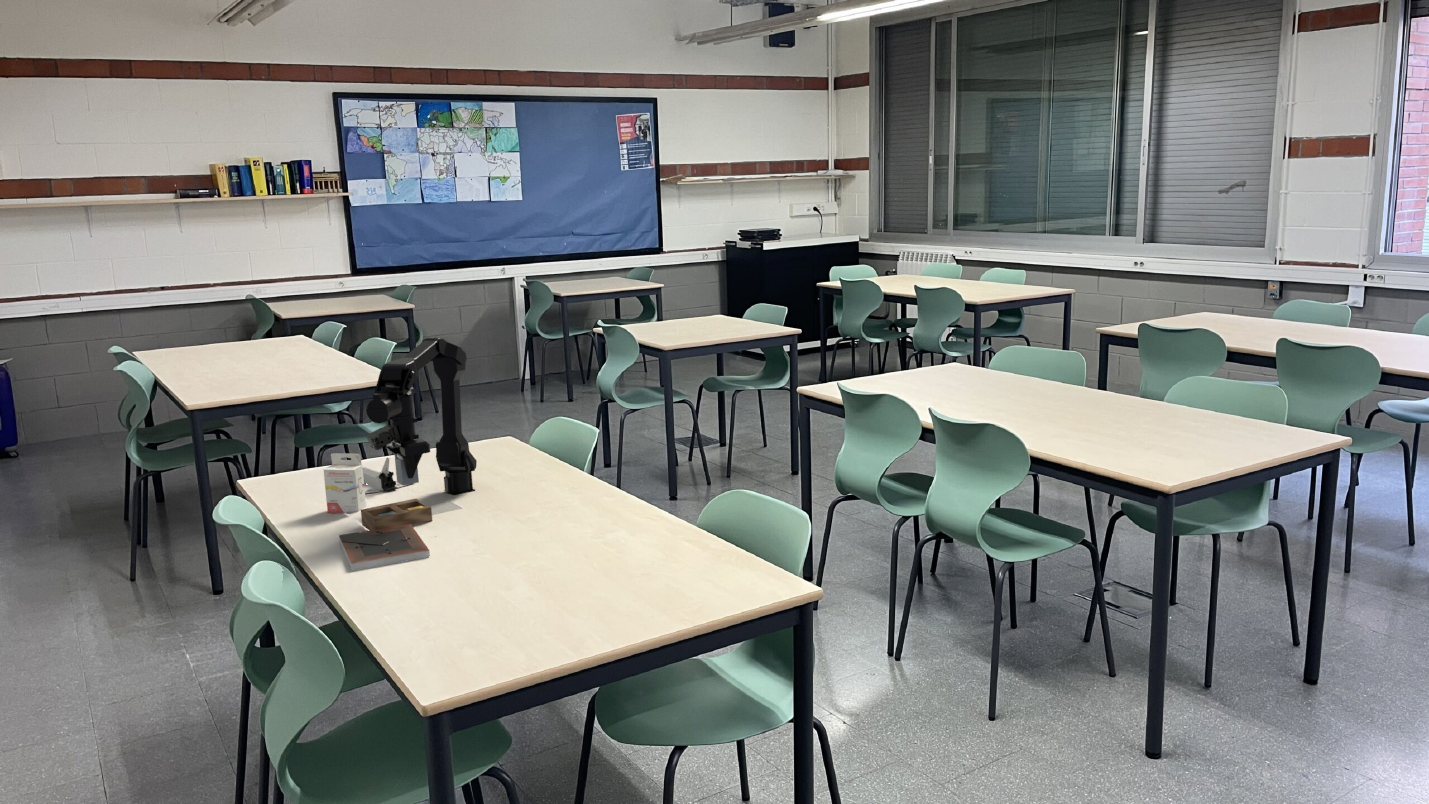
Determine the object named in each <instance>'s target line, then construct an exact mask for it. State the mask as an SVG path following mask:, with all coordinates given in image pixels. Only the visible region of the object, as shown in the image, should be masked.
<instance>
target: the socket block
mask: <svg viewBox="0 0 1429 804" xmlns="http://www.w3.org/2000/svg"><path fill="white" fill-rule="evenodd" d="M360 517H361V525H362V527H364V528H365V529H367V531H370V530H377V529H383V528H389V527H395V526H401V525H407V524H411V525H412V526H417V525H421V524H426V523H431V522H433V515H432V510H431V507H430V505H428V504H426V503H425V502H423V501H421V500H420V499H418V498H411V499H408V500H407V499H406V500H402V501H401V500H400V501H398V502H397V501H396V502H392V503H387V504H382V505H377V506H373V507H372V506H371V507H367V508H363V509H362V510H360Z"/></svg>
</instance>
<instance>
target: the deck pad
mask: <svg viewBox="0 0 1429 804" xmlns="http://www.w3.org/2000/svg"><path fill="white" fill-rule="evenodd" d="M429 506H430V507H431V510H432V516H433V515H439V514H443V513H447V512H451V511H457V510H461V509H463V507H462V506H460V505H458V504H456V503H454V502H452V501H445V502H440V503H436V504H431V505H429Z"/></svg>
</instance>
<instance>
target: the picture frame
mask: <svg viewBox="0 0 1429 804" xmlns="http://www.w3.org/2000/svg"><path fill="white" fill-rule="evenodd" d="M413 526H414V525H413ZM413 526H412V525H411V524H407V525H401V526H395V527H389V528H383V529H377V530H370V531H369V530H366V531H361V532H360V531H355V532H350V533H343V534H339V535H338V539H339V544H340V546H341V549H342V550H343V553H344V556H345V558H346V560H347V562H348V564H349V567H350V568H351V571H354V572H355V571H359V570H364V569H370V568H377V567H382V566H387V564H388V565H392V563H393V564H399V563H402V562H401V561H404V562H407V561H406V560H410V561H413V560H412V559H416V560H419V559H418V558H421V559H427V558H430V557H431V554H430V549H429V548H428V546H427V545H426V543H425V542H424V540H423V539H422V538H421V537H420V535H419V534H418V532H417V530H415V528H414V527H413ZM429 556H430V557H429ZM426 557H427V558H426ZM398 562H399V563H398Z"/></svg>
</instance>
